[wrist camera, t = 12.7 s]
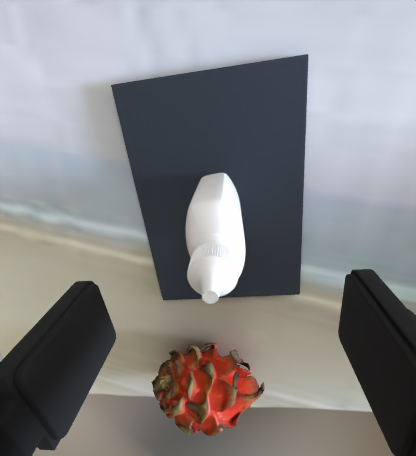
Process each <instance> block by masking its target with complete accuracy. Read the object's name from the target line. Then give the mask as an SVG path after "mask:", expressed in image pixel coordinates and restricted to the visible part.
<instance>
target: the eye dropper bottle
mask: <svg viewBox="0 0 416 456" xmlns="http://www.w3.org/2000/svg"><path fill="white" fill-rule="evenodd" d="M186 243H187V248H188V252H189V255H190V258H191V260H190V263H189V267H188V271H187V277H188V278H187V279H188V281H189V284H190V285H191V287H192V288H193V289H194V290H195V291H196V292H198V293H199V294H201V295H202V299H203V301H204V302H206V303H208V304H213V303H216V302H217V301H218V299H219V297H220V296H223V295H226V294H228V293H230V292H231V290H233V288H235V286H236V284H237V280H238V278H239V277H240V275H241V273H242V270H243V266H244V262H245V239H244V230H243V223H242V215H241V207H240V201H239V197H238V194H237V191H236V188H235V186H234V184H233V183H232V181H231V179H230V178H229V177H228V175H227V174H225V173H216V174H211V175H207V176H204V177H202V178H201V180H200V182H199V184H198V186H197V189H196V191H195V193H194V195H193V198H192V200H191V203H190V205H189V208H188V212H187V218H186Z"/></svg>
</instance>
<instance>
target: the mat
mask: <svg viewBox="0 0 416 456" xmlns="http://www.w3.org/2000/svg"><path fill="white" fill-rule="evenodd" d="M307 78H308V54H307V55H301V56H294V57H288V58H281V59H275V60H269V61H262V62H256V63H249V64H243V65H236V66H230V67H223V68H217V69H211V70H204V71H198V72H191V73H185V74H178V75H172V76H166V77H159V78H153V79H146V80H140V81H133V82H127V83H121V84H114V85H111V87H112V91H113V95H114V99H115V103H116V107H117V111H118V116H119V120H120V124H121V128H122V132H123V136H124V140H125V145H126V149H127V153H128V157H129V161H130V165H131V169H132V173H133V178H134V182H135V186H136V190H137V194H138V198H139V202H140V207H141V211H142V215H143V219H144V223H145V227H146V231H147V236H148V240H149V244H150V248H151V252H152V256H153V260H154V264H155V269H156V273H157V277H158V281H159V285H160V289H161V293H162V298H163V300H178V299H201V298H202V295H201V294H199V293H198V292H196V291H195V290H194V289H193V288H192V287H191V285H190V284H189V281H188V279H187V278H188V277H187V271H188V267H189V263H190V260H191V258H190V255H189V252H188V248H187V243H186V218H187V212H188V208H189V205H190V203H191V200H192V198H193V195H194V193H195V191H196V189H197V186H198V184H199V182H200V180H201V178H202V177H204V176H207V175H211V174H216V173H225V174H227V175H228V177H229V178H230V179H231V181H232V183H233V184H234V186H235V188H236V191H237V194H238V197H239V201H240V207H241V215H242V223H243V230H244V239H245V262H244V266H243V270H242V273H241V275H240V277H239V278H238V280H237V284H236V286H235V288H233V290H231V292H230V293H228V294H226V295H223V296H220V297H219V298H225V297H248V296H271V295H295V294H300V270H301V243H302V215H303V188H304V160H305V133H306V105H307Z"/></svg>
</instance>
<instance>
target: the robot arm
mask: <svg viewBox="0 0 416 456" xmlns="http://www.w3.org/2000/svg"><path fill="white" fill-rule="evenodd" d="M338 333H339V338H340V341H341V344H342V346H343V348H344V350H345V352H346V355H347V357H348V359H349V361H350V363H351V365H352V368H353V370H354V372H355V374H356V376H357V378H358V381H359V383H360V385H361V387H362V389H363V391H364V394H365V396H366V398H367V400H368V402H369V404H370V407H371V409H372V411H373V413H374V415H375V417H376V420H377V422H378V424H379V426H380V428H381V430H382V432H383V434H384V437H385V439H386V441H387V443H388V446H389V448H390V450H391V451H392V453H393V454H394V455H395V456H416V315H415V314H414V313H413V312H411V311H410V310H409V309H407V308H406V307H405V306H404V305H403V304H402V303H401V301H400V300H399V299H398V298H397V297H396V296H395V295H394V293H393V292H392V291H391V290H390V289H389V288H388V287H387V285H386V284H385V283H384V282H383V281H382V280H381V279H380V277H379V276H378V275H377V274H376V273H375V272H374V271H373V270H372V269H362V270H352V271H351V274H347V275H346V278H345V285H344V292H343V300H342V307H341V315H340V322H339V330H338ZM115 339H116V333H115V330H114V327H113V324H112V322H111V319H110V317H109V314H108V311H107V309H106V306H105V303H104V301H103V298H102V295H101V293H100V290H99V287H98V286H97V285H96V284H94V282H92V281H78V282H75V283H74V284H73V285H72V286H71V287H70V288H69V289H68V290H67V292H66V293H65V294H64V295H63V296H62V297H61V298H60V299H59V300H58V301H57V302H56V303H55V304H54V305H53V307H52V308H51V309H50V310H49V311H48V312H47V313H46V314H45V315H44V316H43V317H42V318H41V319H40V320H39V321H38V323H37V324H36V325H35V326H34V327H33V328H32V329H31V330H30V331H29V332H28V333H27V334H26V335H25V336H24V338H23V339H22V340H21V341H20V342H19V343H18V344H17V345H16V346H15V347H14V348H13V349H12V350H11V351H10V352H9V354H8V355H7V356H6V357H5V358H4V359H3V360H2V361H1V362H0V456H32V454H33V453H34V451H35V449H36V448H37V447H38V448H39V449H41V450H55V449H56V447H57V445H58V443H59V442H60V440H61V439H62V438H63V437H64V436H65V435H66V434H67V432H68V431H69V429H70V427H71V425H72V423H73V421H74V420H75V418H76V415H77V414H78V412H79V410H80V408H81V406H82V404H83V402H84V400H85V398H86V396H87V395H88V393H89V391H90V389H91V387H92V385H93V383H94V381H95V379H96V377H97V375H98V373H99V371H100V370H101V368H102V366H103V364H104V362H105V360H106V358H107V356H108V354H109V352H110V350H111V348H112V347H113V345H114V343H115Z"/></svg>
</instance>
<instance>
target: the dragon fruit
mask: <svg viewBox="0 0 416 456" xmlns="http://www.w3.org/2000/svg"><path fill="white" fill-rule="evenodd" d="M210 346H211V347H210ZM208 347H210V348H209V349H208V351H206V352H203V351H204V350H205V349H206V348H208ZM169 354H170V355H171V360H167V361H166V362H164V363H162V365H161V367H160V369H159V372H158V374H159V375H158V376H157V377H156V378H155V380H153V382H151V383H152V384H153V388H154V390H153V392H154V395H155V397H156V398H157V400H159V401H160V408H161V409H162V410H163V412H164V413H166V415H167V417H168V418H172V417H174V418H175V423H176V425H177V426H178V427H179V428H180V429H181V430H182V431H183V432H185V433H186V434H191V433H192V430H191V429H190V427H191V428H192V429H193V432H194V433H198V432H199V431H200V430H202V431H203V432H204V434H206V435H209V436H212V435H216V434H219V433H220V432H222V431H223V429H222V428H233V427H235V426H236V423H237V421H238V419H239V417H240V415H241V414H242V413H243V412H244V410H246V409H248V408H249V407H250V406H251V404H252V403H253V402H254V401H255V400H257V399H258V398H259V397H260V395H261V394H262V393H263V391H264V383H262V385H261V387H260V388H259V385H258V384H257V381H256V379H255V378H254V377H252V376H248V377H247V375H249V374H251V373H252V369H251V367H250V366H249V364H248V363H244V362H243V360H242V359H239V357H238V354H237V350H236V349H235V350H233V351H230V354H231V355H228V356H224V357H220V356H219V355H218V353H217V345H216V344H215V343H210V344H205V345H203V346H202V348H201V349H199V348H198V347H197V346H195V345H189V346H188V348H187V353H186V354H185V355H184V354H183V353H181V352H180V351H176V350H173V351H171V352H170V353H169ZM237 363H239V364H241V365H244V366H246V367H247V368H248V369H249V370H245V369H242V368H240V367H239V366H240V365H237Z"/></svg>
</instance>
